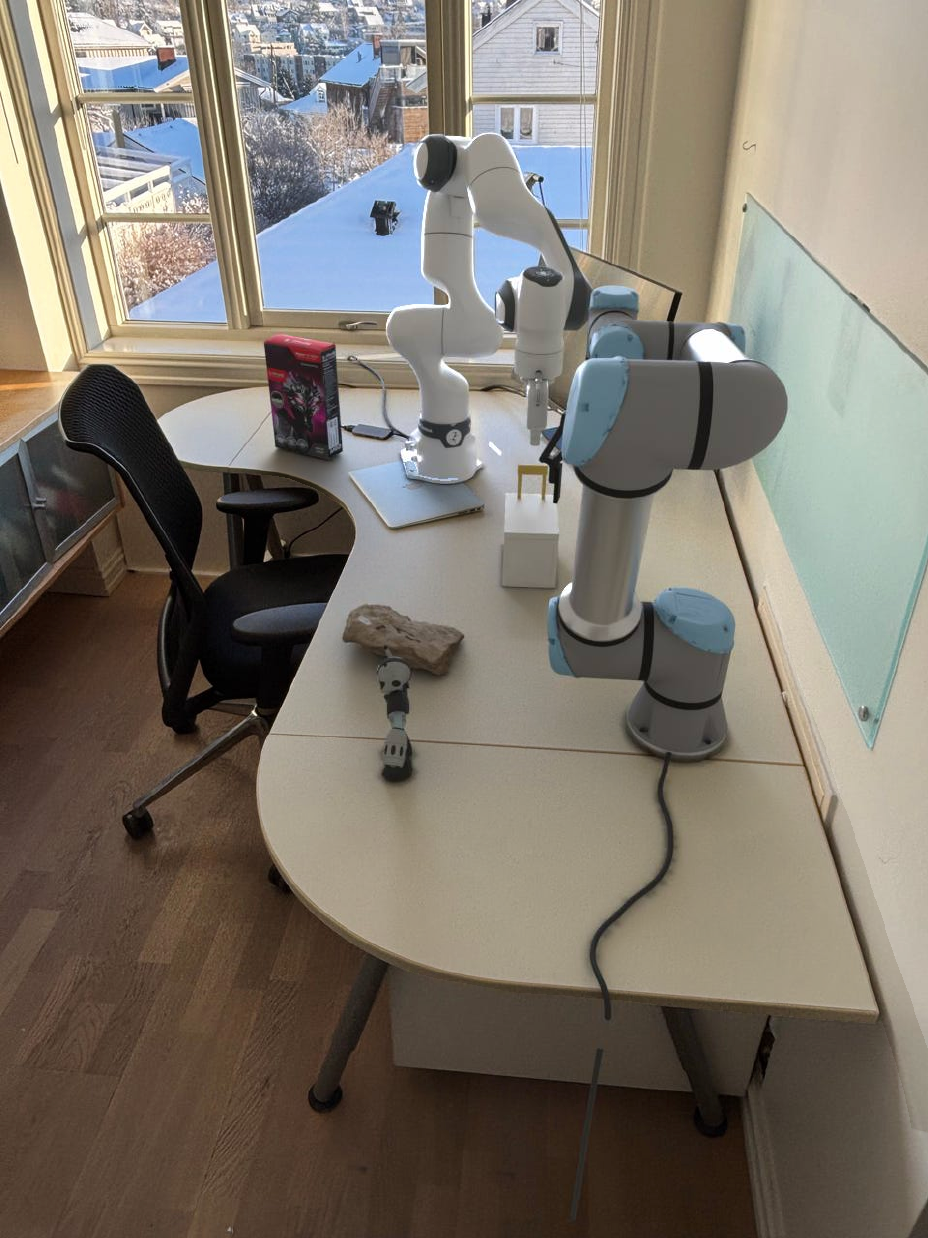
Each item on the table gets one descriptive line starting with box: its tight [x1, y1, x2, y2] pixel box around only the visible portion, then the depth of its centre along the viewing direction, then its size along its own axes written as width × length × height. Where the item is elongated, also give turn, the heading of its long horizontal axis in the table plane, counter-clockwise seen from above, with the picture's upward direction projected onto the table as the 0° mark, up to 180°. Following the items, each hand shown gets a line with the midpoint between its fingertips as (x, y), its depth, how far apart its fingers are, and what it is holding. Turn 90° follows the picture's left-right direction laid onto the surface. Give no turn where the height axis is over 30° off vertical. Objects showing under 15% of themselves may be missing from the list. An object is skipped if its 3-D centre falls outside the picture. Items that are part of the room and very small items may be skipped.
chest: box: [501, 537, 560, 589], centre depth 181 cm, size 16×10×10 cm, turn 177°
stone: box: [341, 603, 465, 677], centre depth 158 cm, size 21×15×6 cm
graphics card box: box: [263, 333, 344, 460], centre depth 223 cm, size 17×7×27 cm, turn 62°
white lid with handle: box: [503, 463, 560, 540], centre depth 176 cm, size 16×10×8 cm, turn 177°
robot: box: [375, 645, 413, 783], centre depth 131 cm, size 20×5×20 cm, turn 3°
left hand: (534, 434), depth 176 cm, fingers open, 8 cm apart
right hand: (594, 505), depth 161 cm, fingers open, 13 cm apart
